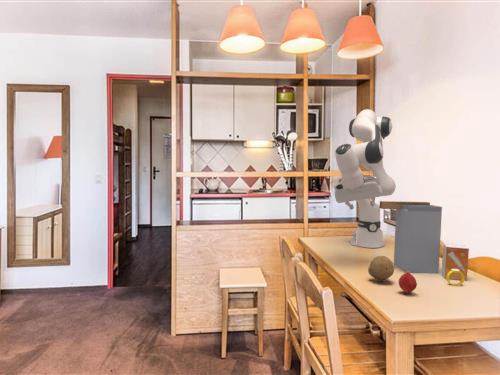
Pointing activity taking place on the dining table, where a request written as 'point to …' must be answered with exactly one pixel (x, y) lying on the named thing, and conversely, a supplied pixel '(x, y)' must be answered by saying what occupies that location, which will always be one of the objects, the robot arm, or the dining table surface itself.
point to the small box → (455, 261)
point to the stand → (418, 238)
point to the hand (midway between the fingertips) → (362, 207)
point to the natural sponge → (381, 268)
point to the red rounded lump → (407, 282)
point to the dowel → (398, 204)
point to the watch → (457, 272)
